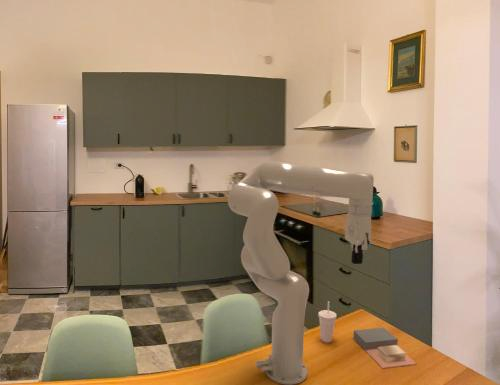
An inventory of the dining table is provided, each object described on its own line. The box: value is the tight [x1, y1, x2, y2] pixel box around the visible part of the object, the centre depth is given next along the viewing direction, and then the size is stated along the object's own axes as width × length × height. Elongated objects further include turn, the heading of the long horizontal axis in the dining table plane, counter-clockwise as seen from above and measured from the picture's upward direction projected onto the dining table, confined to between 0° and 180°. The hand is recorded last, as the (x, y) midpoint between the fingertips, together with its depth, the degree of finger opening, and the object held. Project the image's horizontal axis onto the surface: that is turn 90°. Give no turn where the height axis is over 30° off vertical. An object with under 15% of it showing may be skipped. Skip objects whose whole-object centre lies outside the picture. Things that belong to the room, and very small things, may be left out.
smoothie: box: [317, 301, 338, 343], centre depth 138 cm, size 6×6×14 cm
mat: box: [364, 349, 417, 370], centre depth 128 cm, size 12×10×1 cm
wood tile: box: [377, 344, 407, 362], centre depth 128 cm, size 7×5×2 cm
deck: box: [352, 327, 399, 351], centre depth 137 cm, size 12×8×3 cm
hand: (356, 262), depth 133 cm, fingers closed
